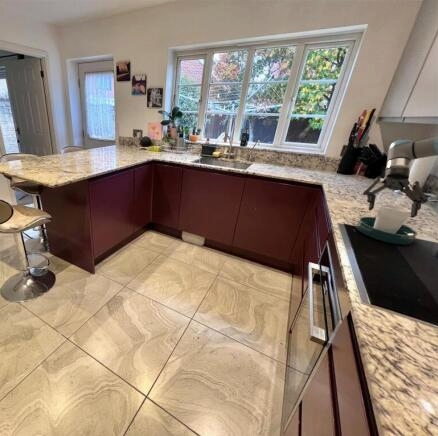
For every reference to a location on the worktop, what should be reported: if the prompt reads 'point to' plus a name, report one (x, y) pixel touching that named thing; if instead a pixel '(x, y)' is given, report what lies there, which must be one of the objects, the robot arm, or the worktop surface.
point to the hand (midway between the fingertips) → (391, 212)
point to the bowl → (400, 237)
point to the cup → (391, 218)
